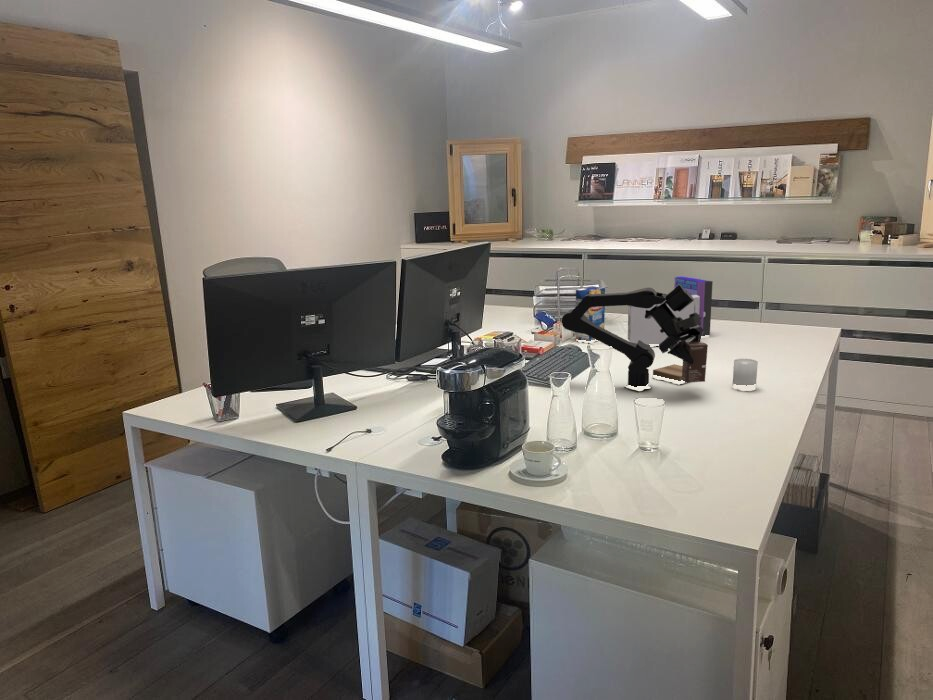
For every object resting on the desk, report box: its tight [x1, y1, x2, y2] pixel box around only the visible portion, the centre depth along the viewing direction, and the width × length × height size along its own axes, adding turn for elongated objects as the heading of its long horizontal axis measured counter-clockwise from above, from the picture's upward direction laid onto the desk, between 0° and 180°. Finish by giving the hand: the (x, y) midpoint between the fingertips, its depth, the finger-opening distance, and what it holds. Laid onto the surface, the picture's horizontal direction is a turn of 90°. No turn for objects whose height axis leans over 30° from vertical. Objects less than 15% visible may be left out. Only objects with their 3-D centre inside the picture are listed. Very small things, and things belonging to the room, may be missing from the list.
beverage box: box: [575, 286, 606, 341], centre depth 295 cm, size 7×11×22 cm, turn 135°
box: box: [682, 341, 709, 384], centre depth 217 cm, size 6×4×12 cm
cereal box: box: [673, 276, 713, 336], centre depth 300 cm, size 17×5×24 cm, turn 25°
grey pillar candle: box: [732, 358, 759, 386], centre depth 225 cm, size 7×7×9 cm
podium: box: [652, 363, 683, 381], centre depth 239 cm, size 11×11×3 cm
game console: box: [627, 295, 700, 345], centre depth 283 cm, size 6×27×20 cm, turn 89°
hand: (698, 360), depth 216 cm, fingers closed on box, 7 cm apart
